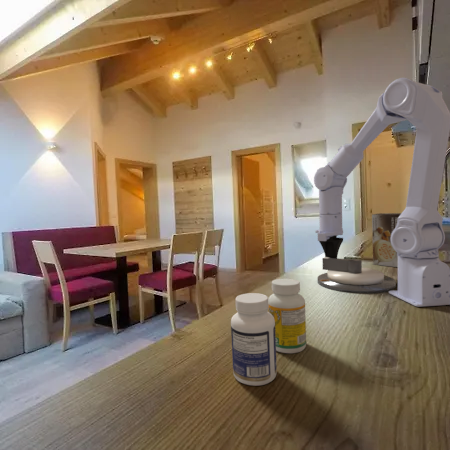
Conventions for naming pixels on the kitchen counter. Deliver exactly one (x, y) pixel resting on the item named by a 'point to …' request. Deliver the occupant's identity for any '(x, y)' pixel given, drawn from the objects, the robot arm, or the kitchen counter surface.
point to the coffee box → (384, 239)
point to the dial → (351, 272)
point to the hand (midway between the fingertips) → (331, 264)
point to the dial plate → (374, 288)
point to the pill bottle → (253, 340)
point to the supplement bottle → (288, 315)
